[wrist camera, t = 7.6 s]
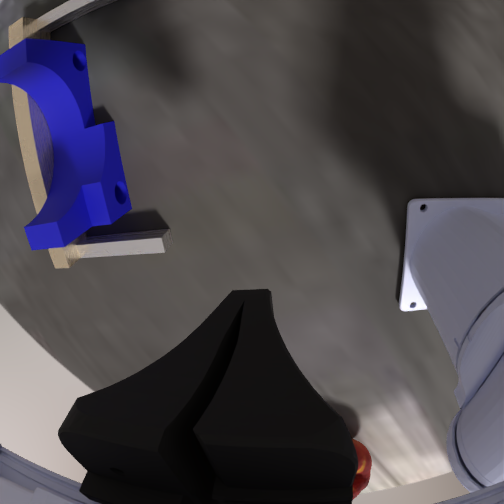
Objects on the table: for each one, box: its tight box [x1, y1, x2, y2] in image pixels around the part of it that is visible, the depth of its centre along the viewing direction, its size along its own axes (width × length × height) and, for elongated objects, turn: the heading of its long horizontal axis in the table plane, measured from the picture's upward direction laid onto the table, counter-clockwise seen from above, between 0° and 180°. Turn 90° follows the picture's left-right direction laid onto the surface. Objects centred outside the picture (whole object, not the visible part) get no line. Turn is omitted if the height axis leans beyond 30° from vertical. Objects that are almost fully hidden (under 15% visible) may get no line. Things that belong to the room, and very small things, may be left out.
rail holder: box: [9, 0, 173, 268], centre depth 17 cm, size 8×18×3 cm, turn 7°
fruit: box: [352, 439, 372, 499], centre depth 26 cm, size 8×8×8 cm
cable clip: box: [0, 38, 132, 250], centre depth 16 cm, size 12×4×6 cm, turn 7°
